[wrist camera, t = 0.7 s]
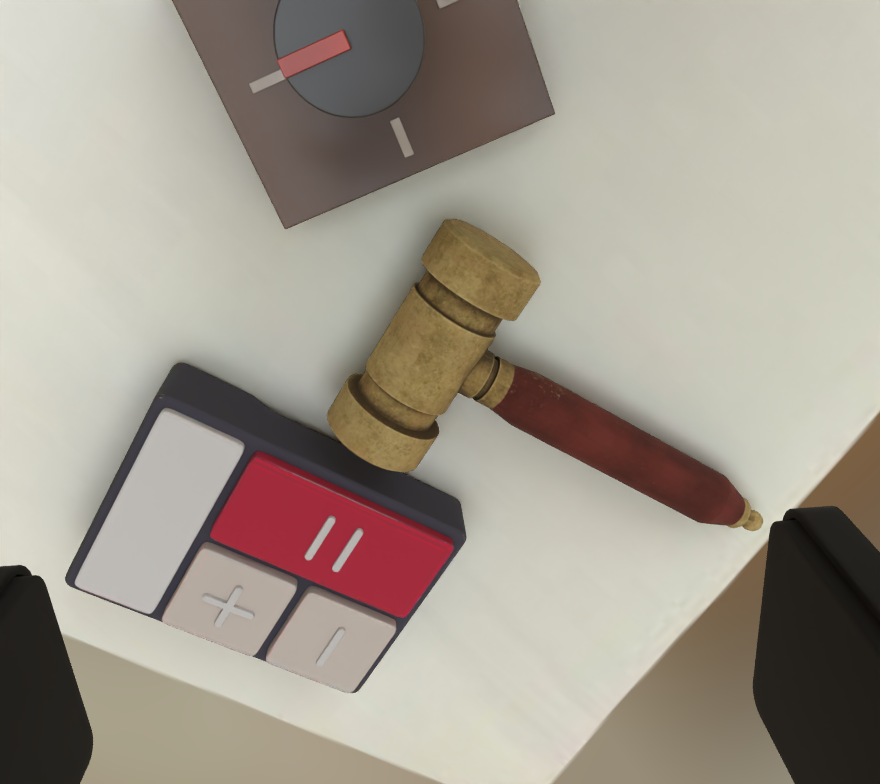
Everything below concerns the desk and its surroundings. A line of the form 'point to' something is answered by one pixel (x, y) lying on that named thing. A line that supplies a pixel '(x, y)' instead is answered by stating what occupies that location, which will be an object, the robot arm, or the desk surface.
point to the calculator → (265, 535)
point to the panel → (378, 136)
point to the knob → (349, 52)
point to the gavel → (501, 385)
